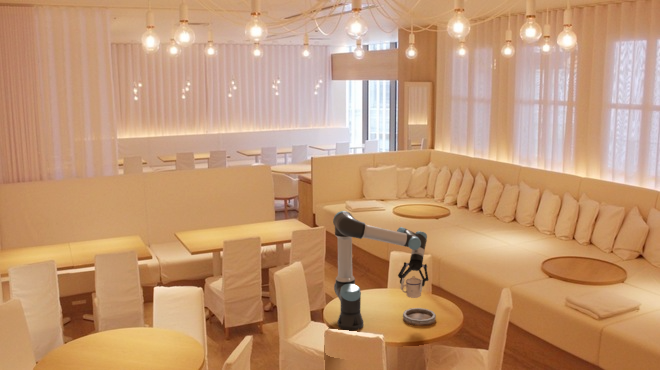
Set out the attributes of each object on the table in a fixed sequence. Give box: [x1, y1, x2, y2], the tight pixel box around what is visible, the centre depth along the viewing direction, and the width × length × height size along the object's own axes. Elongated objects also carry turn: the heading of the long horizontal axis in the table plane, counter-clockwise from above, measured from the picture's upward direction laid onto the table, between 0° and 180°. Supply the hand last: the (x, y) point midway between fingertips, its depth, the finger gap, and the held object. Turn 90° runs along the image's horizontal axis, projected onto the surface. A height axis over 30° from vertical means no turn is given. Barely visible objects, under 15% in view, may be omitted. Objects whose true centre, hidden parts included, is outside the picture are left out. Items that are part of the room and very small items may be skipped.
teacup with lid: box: [401, 275, 422, 299], centre depth 375 cm, size 12×9×12 cm
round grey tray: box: [402, 307, 437, 327], centre depth 383 cm, size 19×19×3 cm
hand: (410, 289), depth 372 cm, fingers closed on teacup with lid, 11 cm apart
